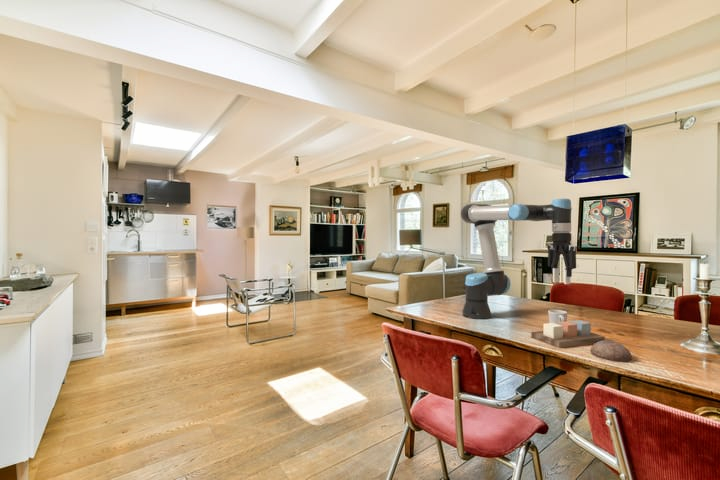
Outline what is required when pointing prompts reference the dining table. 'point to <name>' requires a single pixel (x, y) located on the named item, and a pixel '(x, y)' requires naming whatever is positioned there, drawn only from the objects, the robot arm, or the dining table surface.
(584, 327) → the block slate
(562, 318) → the cup
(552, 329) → the block cream
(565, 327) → the block terracotta
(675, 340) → the dining table surface
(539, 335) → the walnut board
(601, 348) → the decorative stone
